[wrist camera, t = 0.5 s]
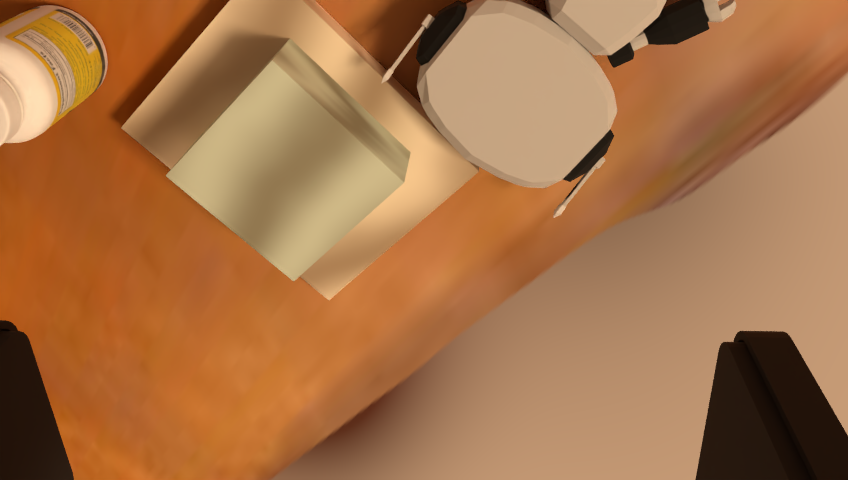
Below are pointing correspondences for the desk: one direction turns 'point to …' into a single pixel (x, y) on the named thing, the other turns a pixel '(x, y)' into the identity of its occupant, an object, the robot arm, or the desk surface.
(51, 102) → the supplement bottle
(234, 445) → the desk surface
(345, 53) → the base board
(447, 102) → the robot toy
